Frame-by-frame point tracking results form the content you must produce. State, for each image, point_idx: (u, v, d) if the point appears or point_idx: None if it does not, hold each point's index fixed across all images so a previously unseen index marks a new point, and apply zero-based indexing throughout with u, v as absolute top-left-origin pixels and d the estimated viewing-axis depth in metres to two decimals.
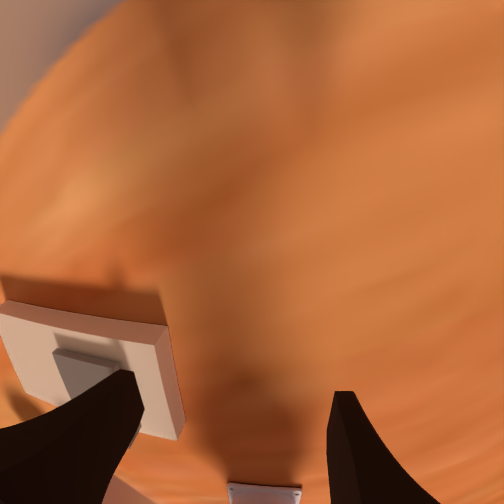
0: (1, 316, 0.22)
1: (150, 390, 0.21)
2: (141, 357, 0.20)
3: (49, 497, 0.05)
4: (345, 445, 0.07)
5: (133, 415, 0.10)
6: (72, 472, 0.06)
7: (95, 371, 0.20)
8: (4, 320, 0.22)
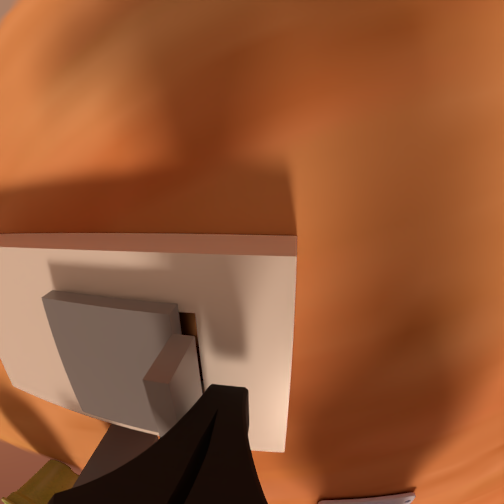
0: None
1: (262, 362, 0.12)
2: (260, 289, 0.11)
3: None
4: None
5: None
6: None
7: (126, 326, 0.11)
8: None
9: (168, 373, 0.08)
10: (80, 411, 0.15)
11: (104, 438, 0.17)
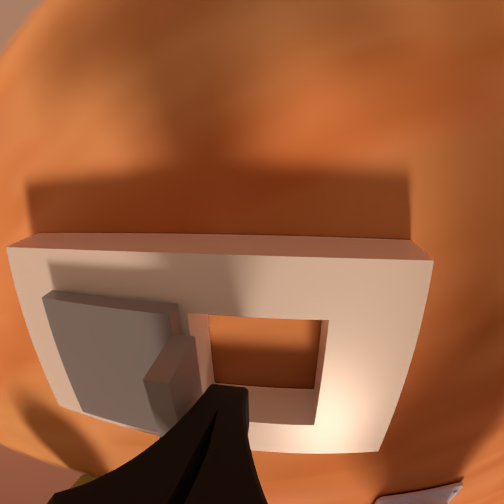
0: (25, 254, 0.12)
1: (385, 364, 0.11)
2: (398, 292, 0.10)
3: None
4: None
5: None
6: None
7: (126, 326, 0.11)
8: (31, 262, 0.12)
9: (168, 373, 0.08)
10: (151, 431, 0.14)
11: None
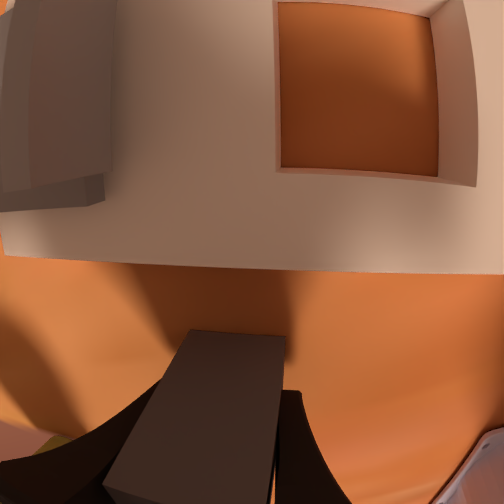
0: None
1: None
2: None
3: None
4: (279, 444, 0.07)
5: None
6: None
7: None
8: None
9: None
10: (156, 257, 0.08)
11: (180, 353, 0.10)
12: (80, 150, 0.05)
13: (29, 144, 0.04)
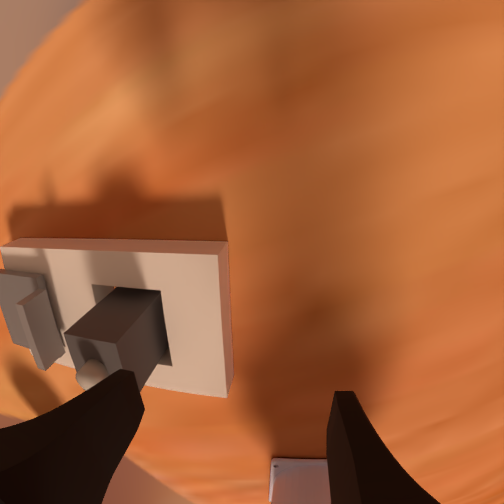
0: (11, 251, 0.19)
1: (203, 323, 0.18)
2: (198, 275, 0.17)
3: (49, 497, 0.05)
4: (345, 445, 0.07)
5: (133, 415, 0.10)
6: (72, 472, 0.06)
7: (22, 285, 0.18)
8: (14, 256, 0.19)
9: (25, 302, 0.16)
10: None
11: (112, 292, 0.20)
12: (54, 354, 0.18)
13: (42, 362, 0.17)
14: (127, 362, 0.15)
